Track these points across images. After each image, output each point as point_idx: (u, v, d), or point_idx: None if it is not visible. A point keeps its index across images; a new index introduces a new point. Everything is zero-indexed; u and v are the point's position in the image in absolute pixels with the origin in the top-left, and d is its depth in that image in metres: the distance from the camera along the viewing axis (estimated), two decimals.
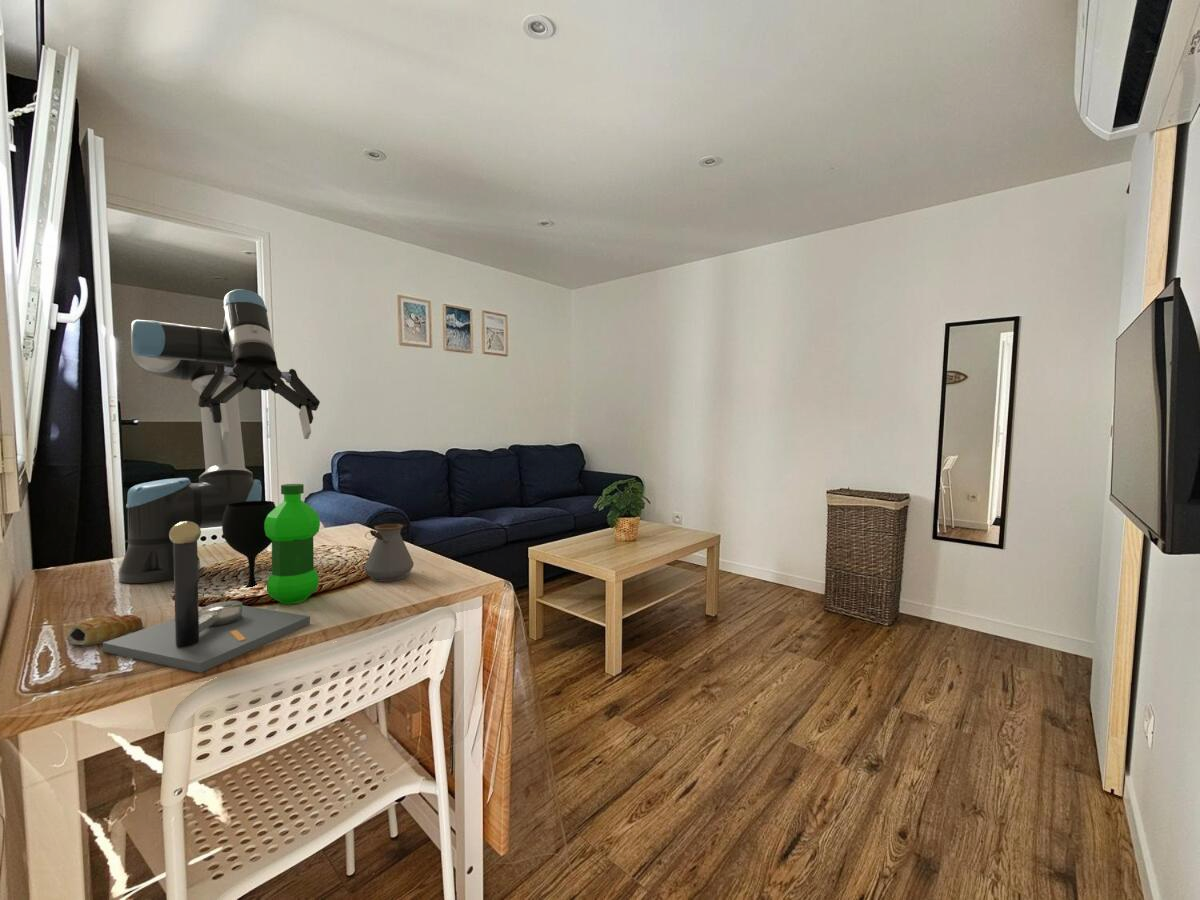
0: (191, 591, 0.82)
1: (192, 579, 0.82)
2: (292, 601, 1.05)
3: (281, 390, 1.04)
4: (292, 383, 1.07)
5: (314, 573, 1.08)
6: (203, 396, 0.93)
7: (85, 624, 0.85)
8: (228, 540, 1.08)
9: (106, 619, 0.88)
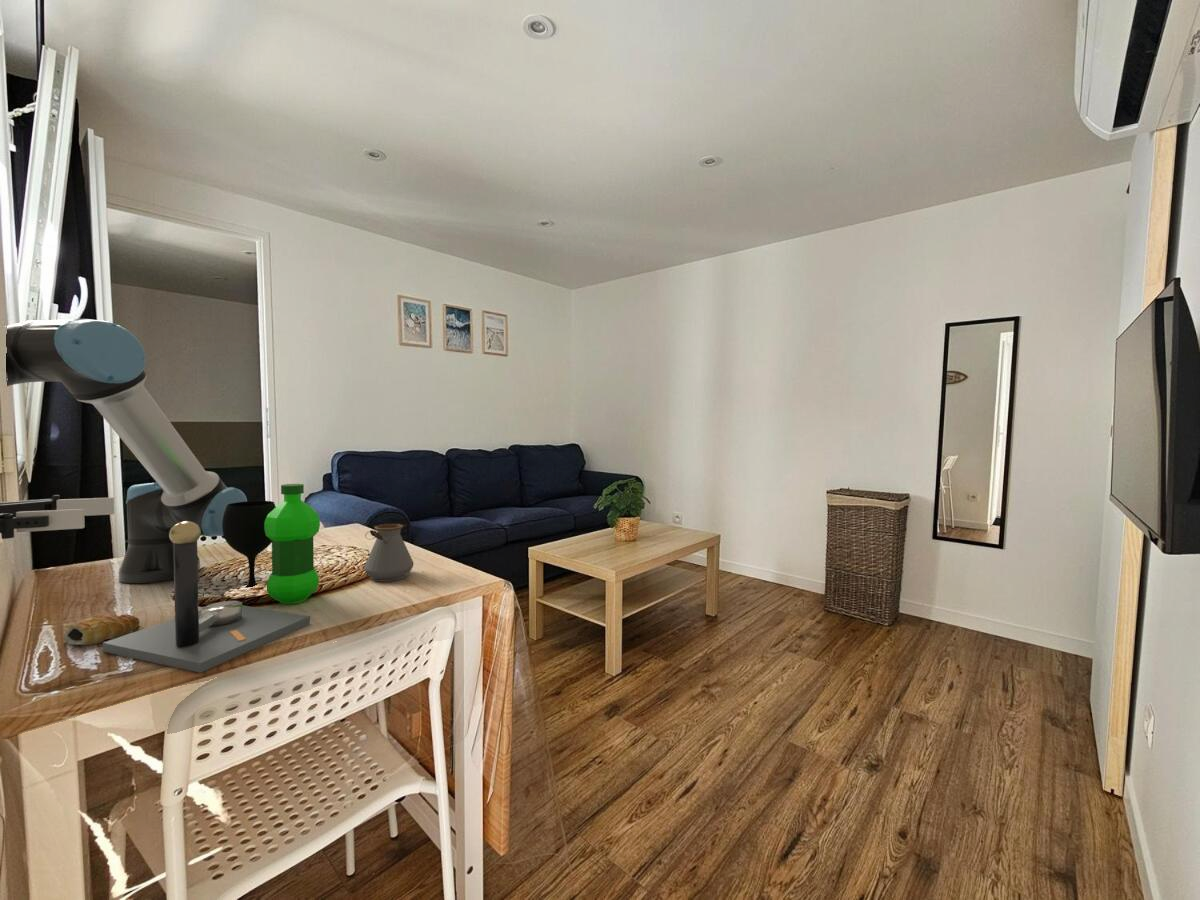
0: (191, 591, 0.82)
1: (192, 579, 0.82)
2: (292, 601, 1.05)
3: None
4: None
5: (314, 573, 1.08)
6: None
7: (82, 624, 0.85)
8: (228, 540, 1.08)
9: (103, 619, 0.88)
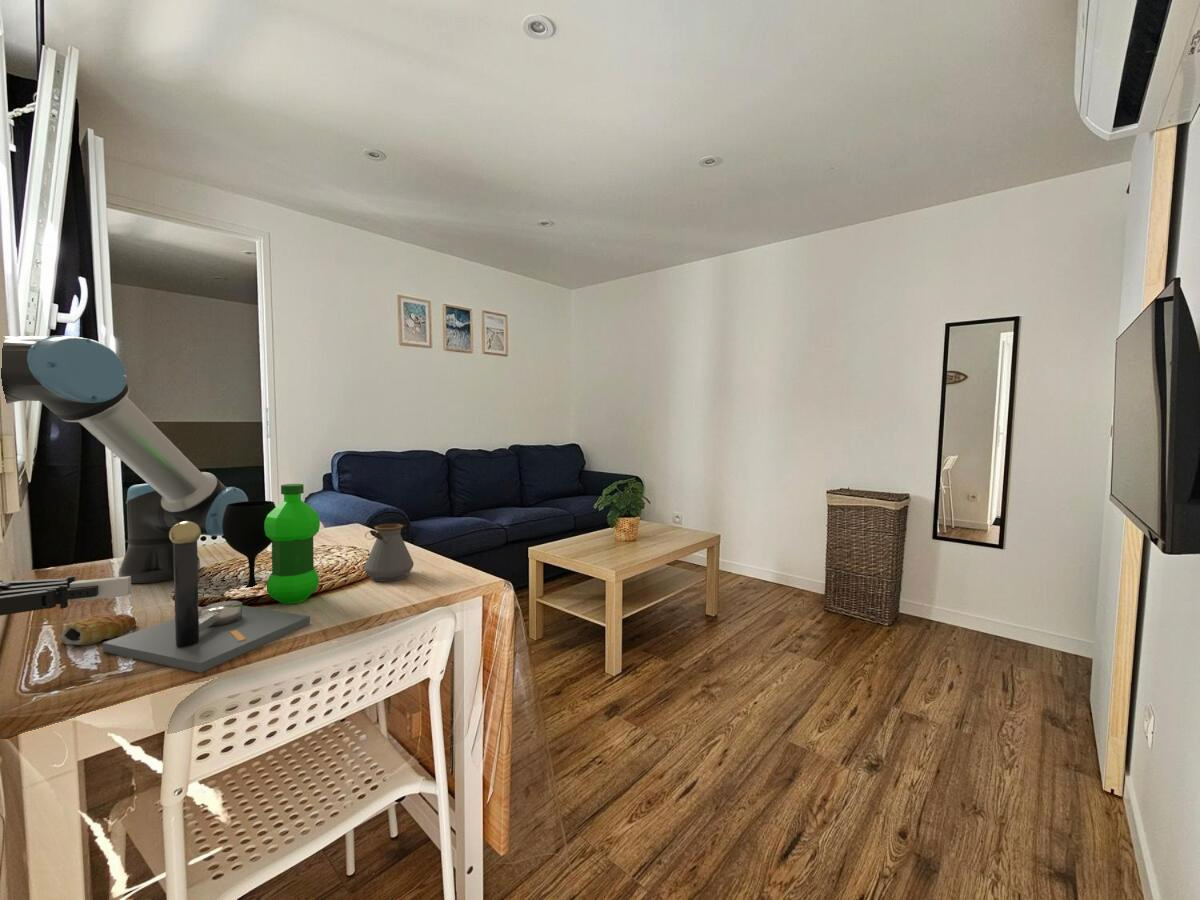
0: (191, 591, 0.82)
1: (192, 579, 0.82)
2: (292, 601, 1.05)
3: None
4: None
5: (314, 573, 1.08)
6: None
7: (80, 624, 0.85)
8: (228, 540, 1.08)
9: (101, 619, 0.88)
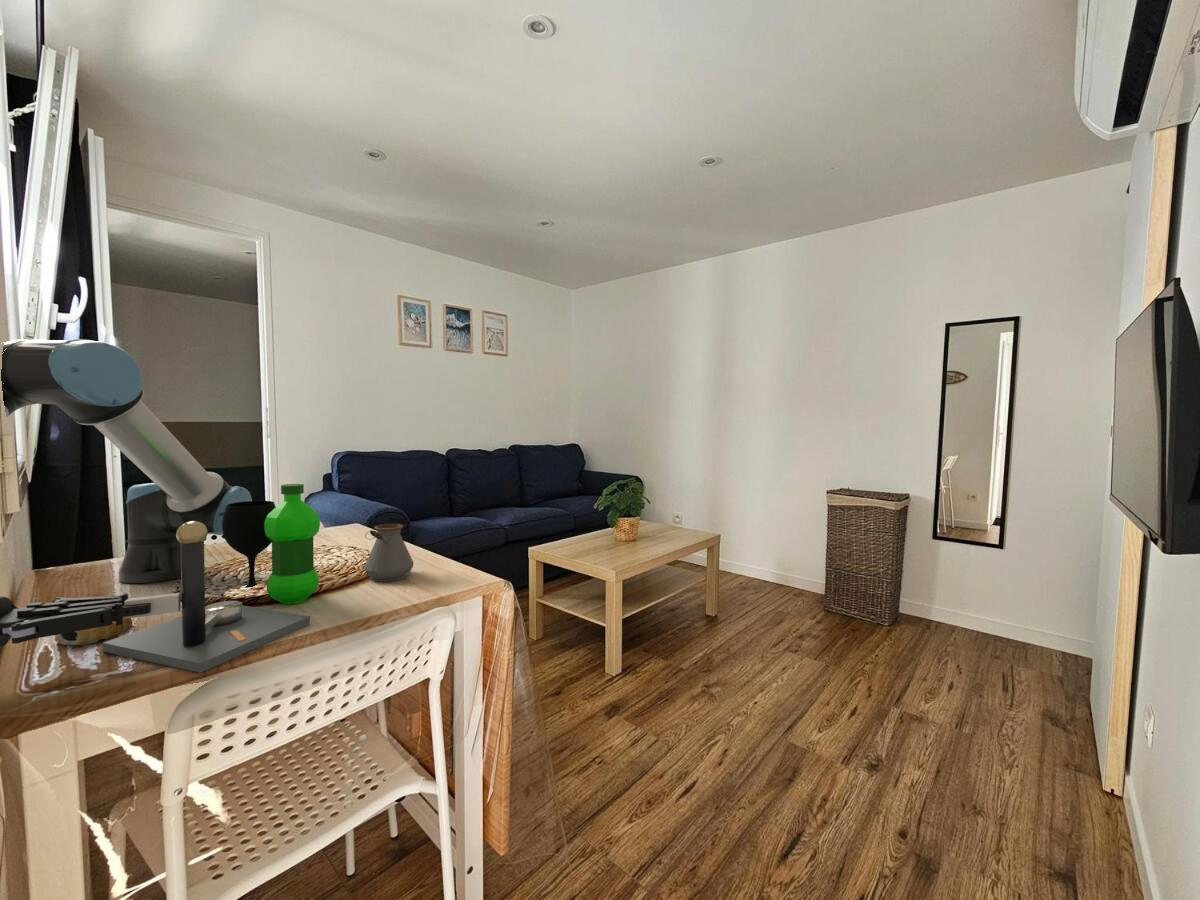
0: (199, 590, 0.82)
1: (200, 578, 0.82)
2: (292, 601, 1.05)
3: None
4: None
5: (314, 573, 1.08)
6: None
7: None
8: (228, 540, 1.08)
9: None
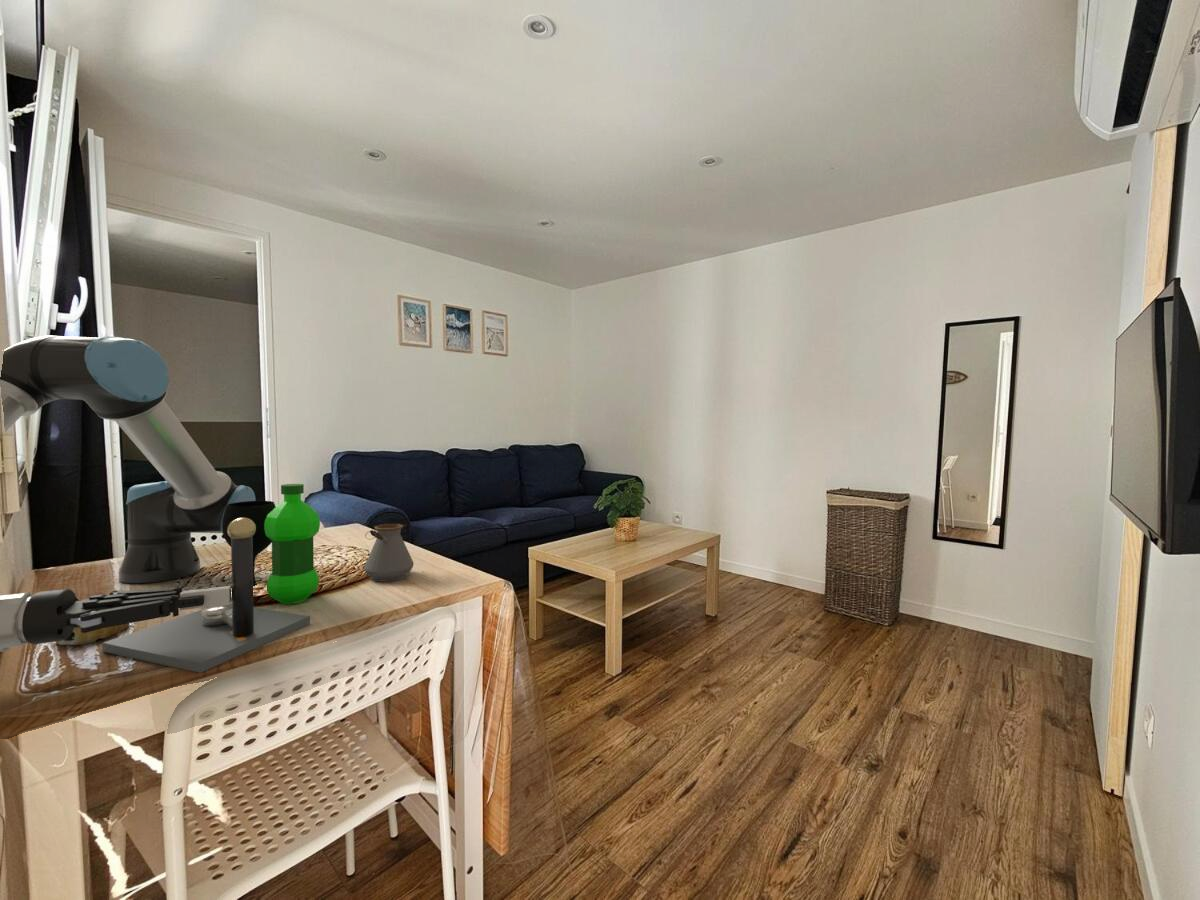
0: (252, 582, 0.87)
1: (252, 571, 0.87)
2: (292, 601, 1.05)
3: None
4: None
5: (314, 573, 1.08)
6: None
7: None
8: (228, 540, 1.08)
9: None
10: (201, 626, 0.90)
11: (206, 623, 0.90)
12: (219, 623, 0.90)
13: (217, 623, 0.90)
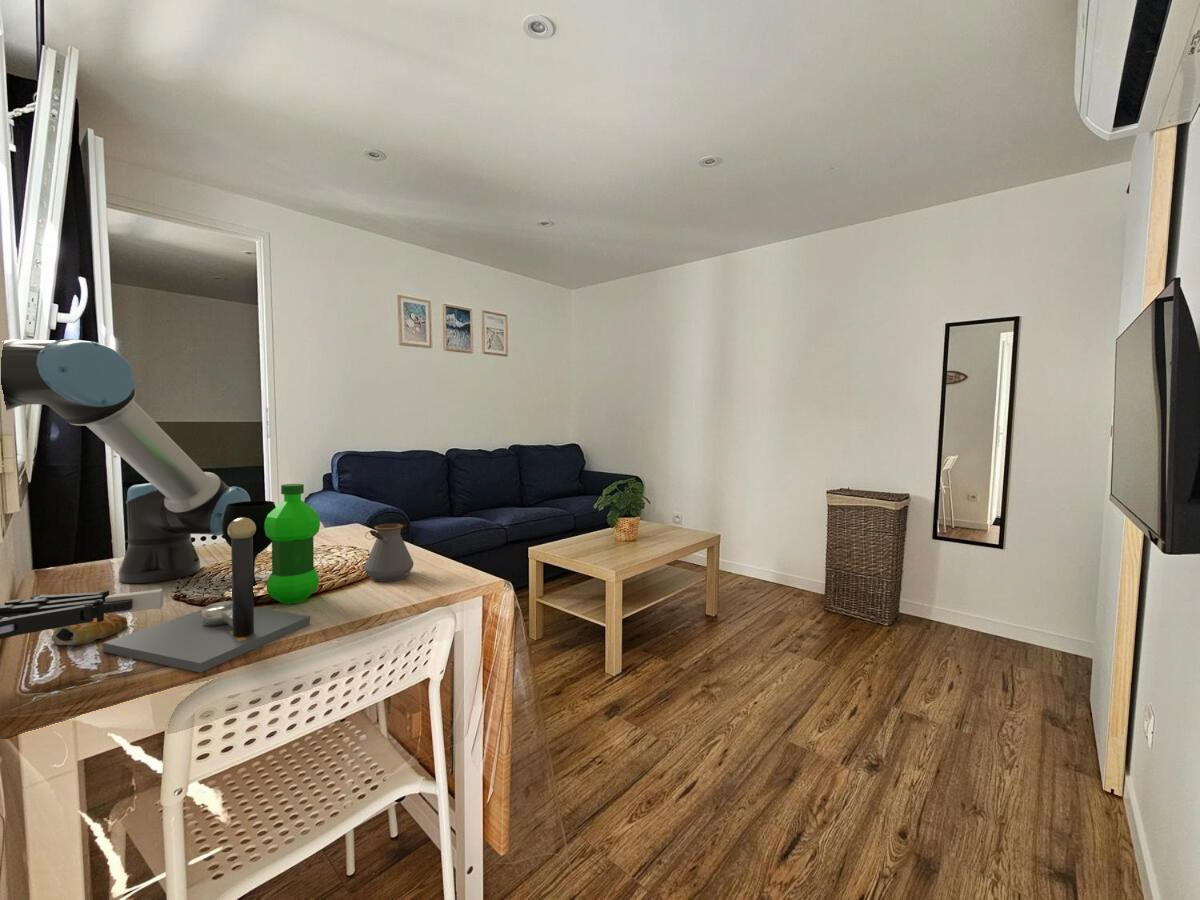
0: (252, 582, 0.87)
1: None
2: (292, 601, 1.05)
3: None
4: None
5: (314, 573, 1.08)
6: None
7: None
8: (228, 540, 1.08)
9: None
10: (201, 626, 0.90)
11: (206, 623, 0.90)
12: (219, 623, 0.90)
13: (217, 623, 0.90)
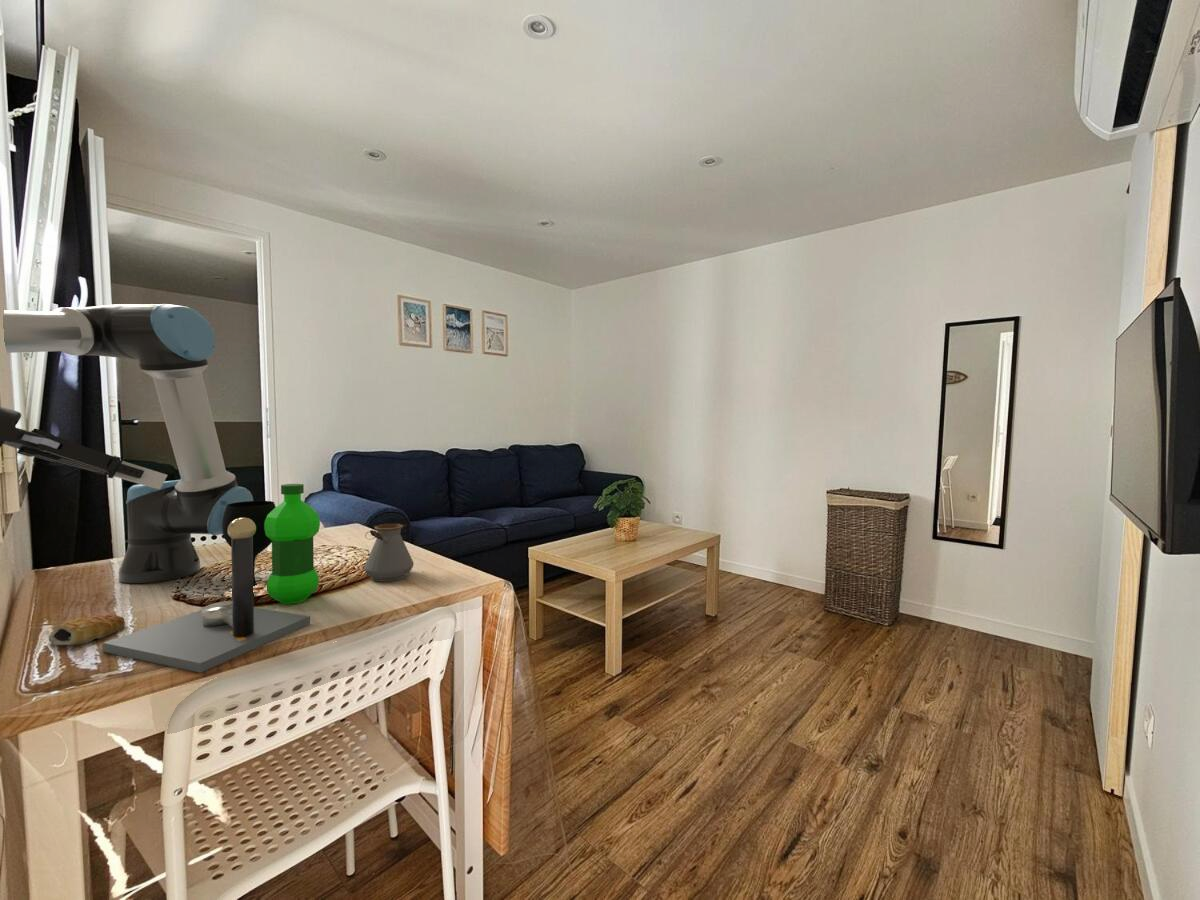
0: (252, 582, 0.87)
1: None
2: (292, 601, 1.05)
3: None
4: None
5: (314, 573, 1.08)
6: (98, 472, 0.86)
7: (70, 624, 0.85)
8: (228, 540, 1.08)
9: (90, 619, 0.88)
10: (201, 626, 0.90)
11: (206, 623, 0.90)
12: (219, 623, 0.90)
13: (217, 623, 0.90)
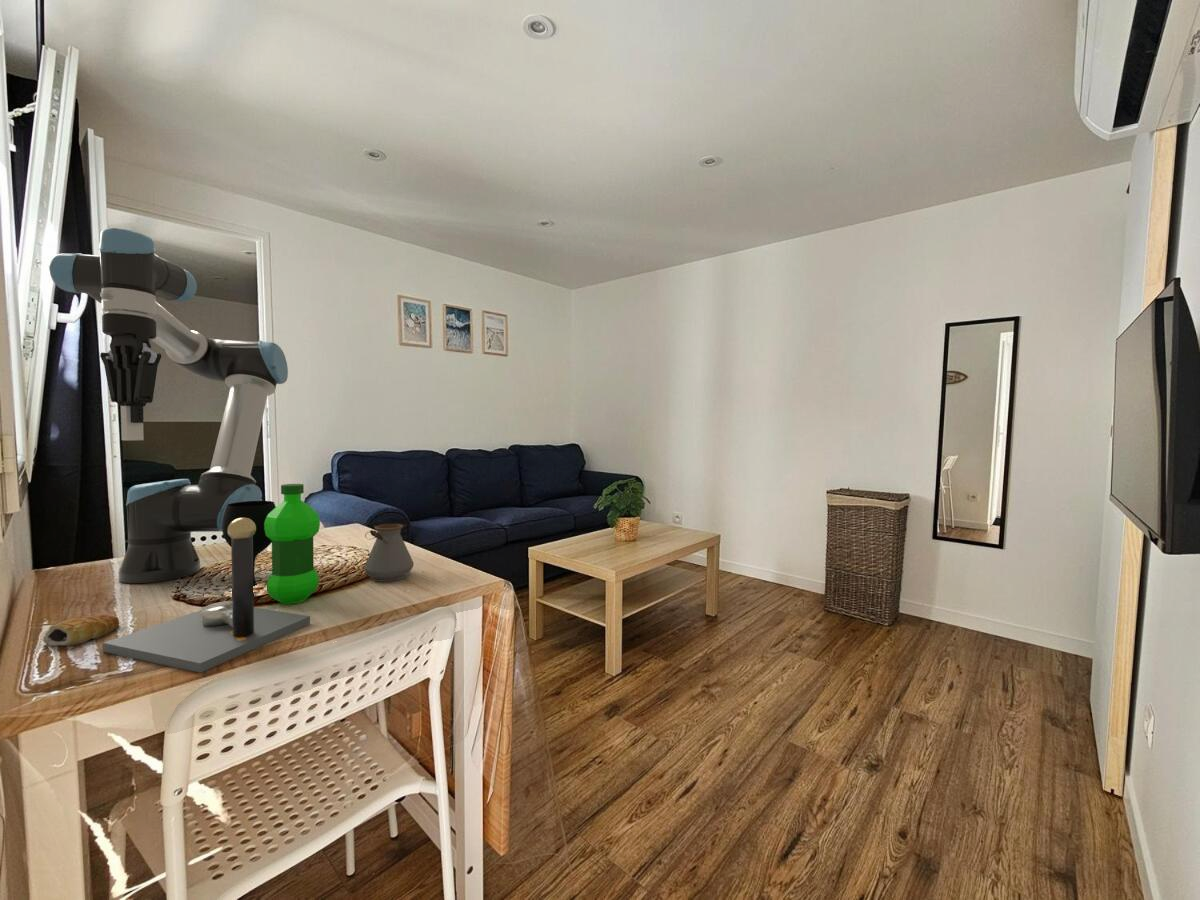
0: (252, 582, 0.87)
1: None
2: (292, 601, 1.05)
3: None
4: None
5: (314, 573, 1.08)
6: (112, 398, 0.95)
7: (65, 624, 0.85)
8: (228, 540, 1.08)
9: (85, 619, 0.88)
10: (201, 626, 0.90)
11: (206, 623, 0.90)
12: (219, 623, 0.90)
13: (217, 623, 0.90)
